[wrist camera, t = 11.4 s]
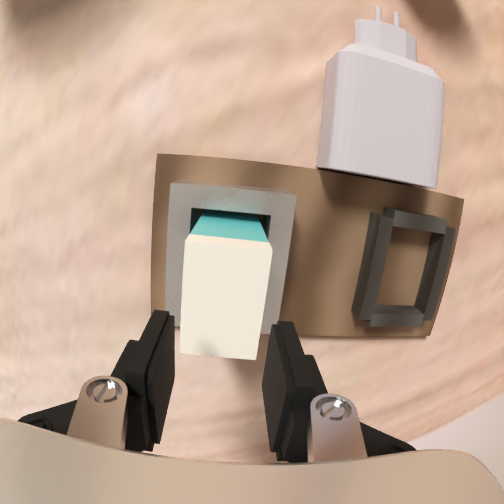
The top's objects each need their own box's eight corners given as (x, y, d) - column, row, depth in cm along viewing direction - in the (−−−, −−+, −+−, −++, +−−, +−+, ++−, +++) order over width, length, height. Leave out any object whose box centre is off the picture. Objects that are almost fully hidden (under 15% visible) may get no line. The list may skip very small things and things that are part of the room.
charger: (419, 34, 22) (411, 184, 26) (327, 6, 21) (313, 167, 25) (446, 19, 17) (440, 190, 21) (343, -19, 17) (330, 168, 21)
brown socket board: (457, 197, 26) (477, 202, 23) (425, 331, 30) (439, 344, 27) (160, 153, 24) (150, 152, 21) (153, 317, 28) (145, 333, 25)
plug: (257, 215, 25) (272, 250, 15) (248, 289, 26) (255, 359, 17) (204, 209, 24) (185, 240, 15) (198, 284, 26) (179, 352, 16)
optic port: (288, 190, 24) (296, 195, 21) (271, 313, 27) (276, 334, 24) (179, 180, 24) (170, 182, 20) (172, 305, 26) (165, 324, 23)
